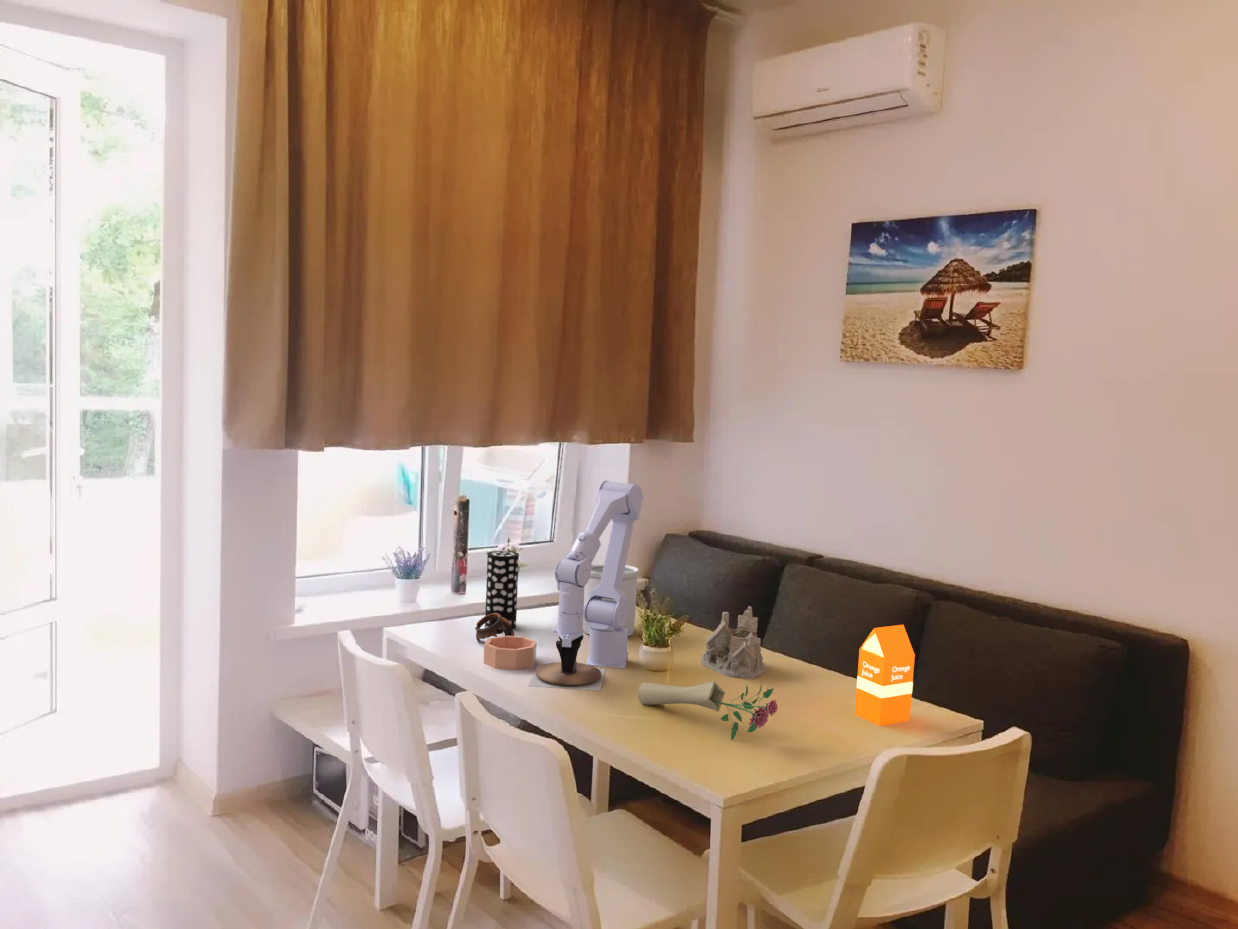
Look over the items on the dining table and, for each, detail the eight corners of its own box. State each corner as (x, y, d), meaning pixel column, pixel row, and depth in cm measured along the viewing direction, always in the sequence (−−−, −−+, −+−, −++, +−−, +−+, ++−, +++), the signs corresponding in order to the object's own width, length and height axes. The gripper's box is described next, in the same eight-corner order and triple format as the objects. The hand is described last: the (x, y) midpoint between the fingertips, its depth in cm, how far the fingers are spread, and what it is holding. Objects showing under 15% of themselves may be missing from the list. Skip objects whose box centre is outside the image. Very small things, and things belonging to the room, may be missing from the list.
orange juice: (910, 720, 223) (917, 629, 220) (879, 726, 218) (886, 632, 216) (884, 709, 229) (891, 620, 227) (853, 714, 225) (860, 623, 223)
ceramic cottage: (706, 654, 265) (711, 597, 262) (770, 665, 260) (776, 607, 257) (690, 674, 251) (694, 614, 248) (757, 687, 245) (762, 626, 243)
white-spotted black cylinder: (504, 621, 288) (507, 549, 286) (522, 628, 281) (524, 555, 279) (479, 625, 282) (481, 552, 280) (495, 632, 276) (498, 558, 274)
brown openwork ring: (518, 648, 264) (504, 622, 261) (484, 662, 265) (470, 637, 262) (517, 624, 275) (504, 599, 272) (485, 638, 276) (471, 613, 273)
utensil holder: (577, 624, 288) (579, 562, 286) (629, 624, 291) (633, 562, 289) (584, 639, 274) (587, 573, 272) (640, 639, 276) (643, 574, 274)
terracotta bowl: (537, 657, 255) (538, 637, 255) (530, 672, 243) (531, 651, 243) (490, 654, 256) (490, 634, 255) (480, 668, 244) (481, 648, 244)
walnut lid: (603, 666, 247) (604, 654, 246) (598, 687, 232) (598, 673, 232) (540, 662, 248) (540, 650, 247) (531, 682, 233) (531, 669, 232)
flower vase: (660, 737, 227) (798, 746, 204) (623, 732, 218) (763, 742, 195) (664, 681, 230) (800, 685, 207) (627, 675, 221) (766, 678, 198)
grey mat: (605, 670, 247) (605, 669, 247) (599, 692, 231) (600, 690, 231) (538, 666, 248) (538, 664, 248) (528, 687, 232) (528, 685, 232)
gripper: (557, 602, 246) (555, 659, 247) (549, 618, 231) (547, 677, 233) (587, 604, 245) (584, 660, 247) (581, 620, 231) (578, 679, 232)
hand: (568, 669), depth 240 cm, fingers closed on walnut lid, 4 cm apart
